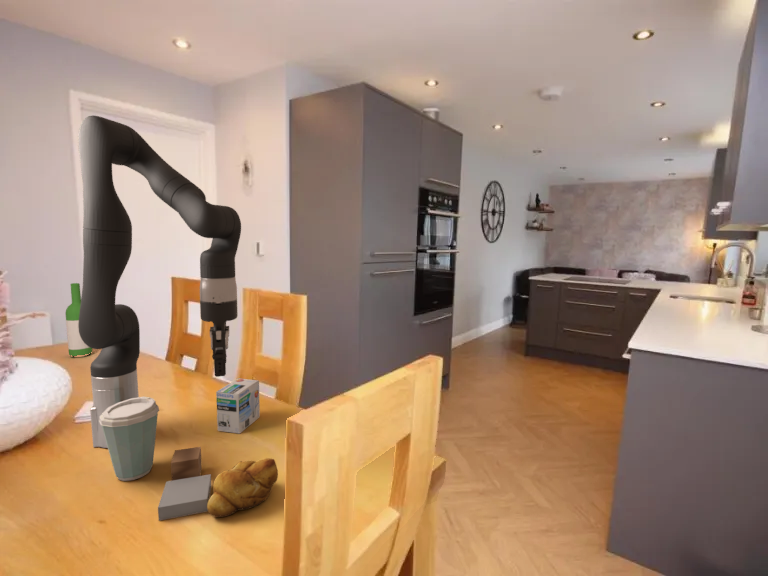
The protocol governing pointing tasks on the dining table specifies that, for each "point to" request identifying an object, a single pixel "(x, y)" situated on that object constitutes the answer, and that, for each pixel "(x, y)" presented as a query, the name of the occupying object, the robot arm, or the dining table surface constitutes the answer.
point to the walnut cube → (186, 463)
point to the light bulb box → (238, 405)
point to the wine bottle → (75, 324)
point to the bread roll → (242, 487)
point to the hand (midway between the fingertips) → (220, 369)
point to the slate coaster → (185, 497)
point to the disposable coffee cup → (131, 436)
